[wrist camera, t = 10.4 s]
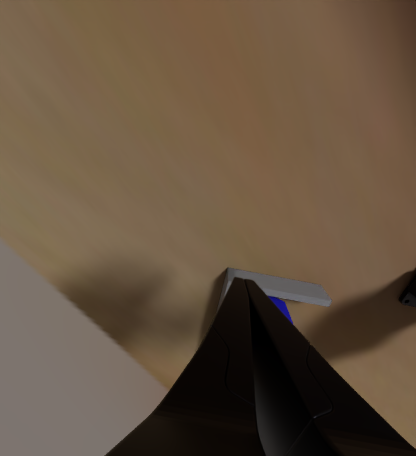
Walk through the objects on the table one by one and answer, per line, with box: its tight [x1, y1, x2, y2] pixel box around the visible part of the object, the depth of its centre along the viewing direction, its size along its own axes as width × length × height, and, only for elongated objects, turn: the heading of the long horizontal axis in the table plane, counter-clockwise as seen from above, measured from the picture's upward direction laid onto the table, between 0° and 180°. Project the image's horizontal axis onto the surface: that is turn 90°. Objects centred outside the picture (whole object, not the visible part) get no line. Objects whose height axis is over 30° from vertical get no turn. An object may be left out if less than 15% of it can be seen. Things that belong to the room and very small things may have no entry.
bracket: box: [216, 268, 332, 313], centre depth 26 cm, size 11×22×2 cm, turn 170°
